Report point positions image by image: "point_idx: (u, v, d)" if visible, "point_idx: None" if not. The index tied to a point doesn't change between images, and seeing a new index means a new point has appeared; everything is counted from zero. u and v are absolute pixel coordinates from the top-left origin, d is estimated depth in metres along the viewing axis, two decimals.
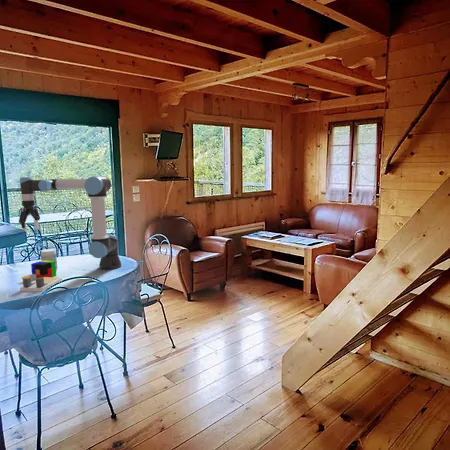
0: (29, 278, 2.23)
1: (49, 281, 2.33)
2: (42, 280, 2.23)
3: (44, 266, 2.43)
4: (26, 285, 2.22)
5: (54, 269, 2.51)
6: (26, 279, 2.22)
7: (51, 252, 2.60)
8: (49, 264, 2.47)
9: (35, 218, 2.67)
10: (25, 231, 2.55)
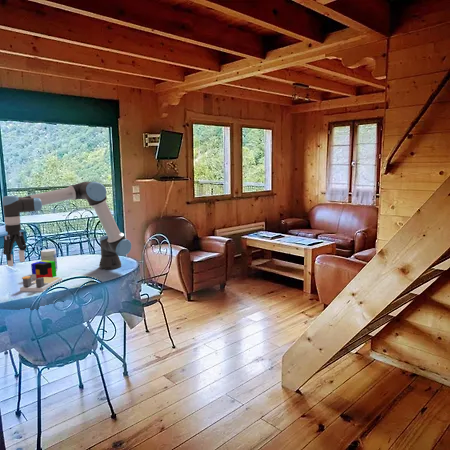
0: (29, 278, 2.23)
1: (49, 281, 2.33)
2: (42, 280, 2.23)
3: (44, 266, 2.43)
4: (26, 285, 2.22)
5: (54, 269, 2.51)
6: (26, 279, 2.22)
7: (51, 252, 2.60)
8: (49, 264, 2.47)
9: (20, 247, 2.18)
10: (11, 264, 2.09)
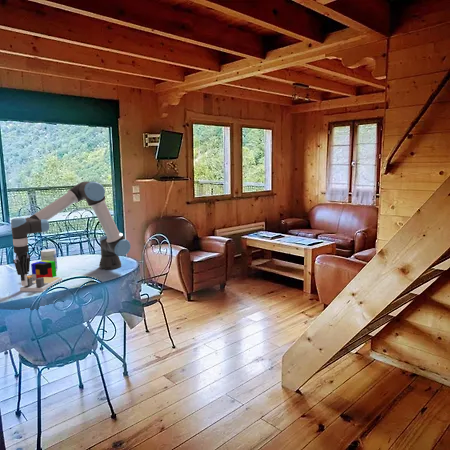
0: (30, 277, 2.25)
1: (49, 281, 2.33)
2: (42, 280, 2.23)
3: (44, 266, 2.43)
4: None
5: (54, 269, 2.51)
6: (28, 278, 2.23)
7: (51, 252, 2.60)
8: (49, 264, 2.47)
9: None
10: (25, 284, 2.20)
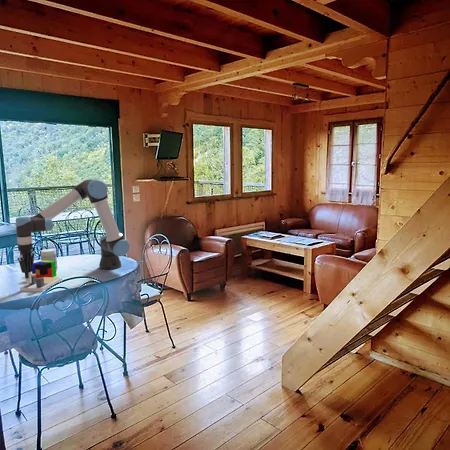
0: (34, 276, 2.28)
1: (49, 281, 2.33)
2: (42, 280, 2.23)
3: (44, 266, 2.43)
4: None
5: (54, 269, 2.51)
6: (32, 276, 2.27)
7: (51, 252, 2.60)
8: (49, 264, 2.47)
9: None
10: (29, 281, 2.24)
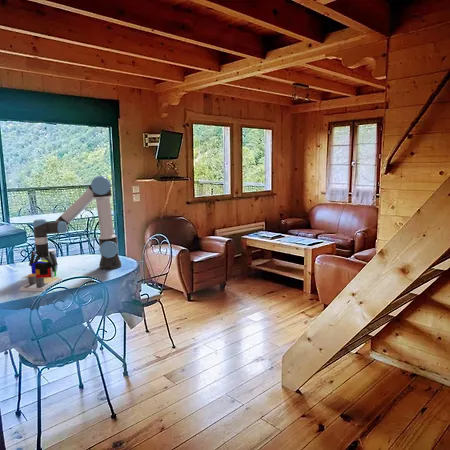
0: (34, 276, 2.28)
1: (49, 281, 2.33)
2: (42, 280, 2.23)
3: (44, 266, 2.43)
4: (31, 282, 2.27)
5: None
6: (32, 276, 2.27)
7: None
8: (49, 264, 2.47)
9: None
10: None
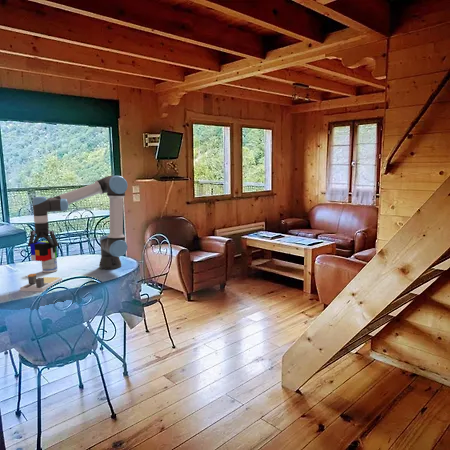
0: (34, 276, 2.28)
1: (49, 281, 2.33)
2: (42, 280, 2.23)
3: (44, 246, 2.28)
4: (31, 282, 2.27)
5: None
6: (32, 276, 2.27)
7: None
8: (49, 244, 2.32)
9: None
10: None
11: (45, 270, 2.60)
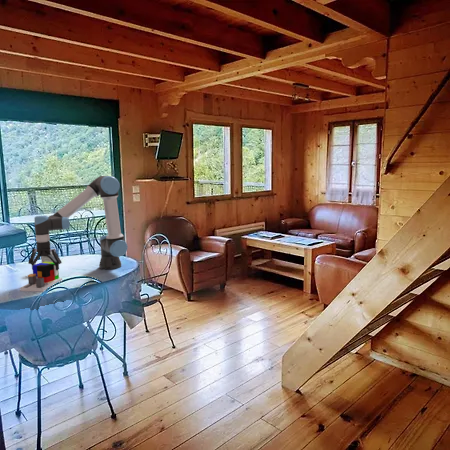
0: (34, 276, 2.28)
1: None
2: (42, 280, 2.23)
3: (46, 268, 2.30)
4: (31, 282, 2.27)
5: None
6: (32, 276, 2.27)
7: None
8: (51, 266, 2.34)
9: None
10: None
11: None
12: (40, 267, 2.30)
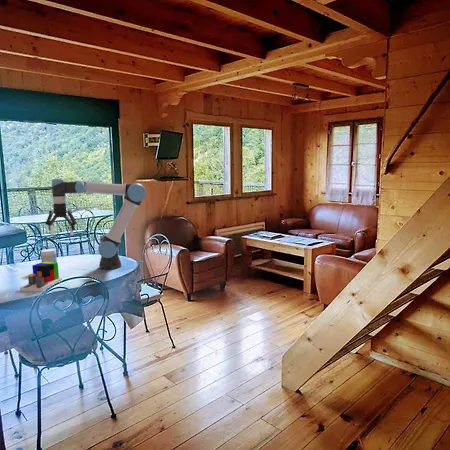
0: (34, 276, 2.28)
1: None
2: (42, 280, 2.23)
3: (46, 268, 2.30)
4: (31, 282, 2.27)
5: (56, 271, 2.37)
6: (32, 276, 2.27)
7: (51, 252, 2.60)
8: (51, 266, 2.34)
9: None
10: None
11: None
12: (40, 267, 2.30)
